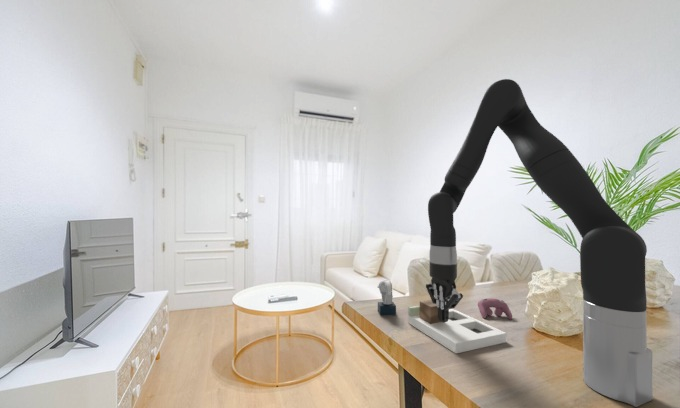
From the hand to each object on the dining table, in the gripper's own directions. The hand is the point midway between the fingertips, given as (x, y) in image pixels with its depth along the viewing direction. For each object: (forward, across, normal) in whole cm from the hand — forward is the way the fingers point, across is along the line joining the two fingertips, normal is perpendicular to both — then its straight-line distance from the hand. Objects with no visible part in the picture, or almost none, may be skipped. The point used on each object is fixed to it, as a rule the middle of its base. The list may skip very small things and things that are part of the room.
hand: (443, 321), depth 80 cm
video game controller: (+4, +5, -27) cm, 28 cm away
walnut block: (+1, +5, 0) cm, 5 cm away
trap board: (+4, +1, -4) cm, 6 cm away
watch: (+4, +21, +6) cm, 22 cm away
